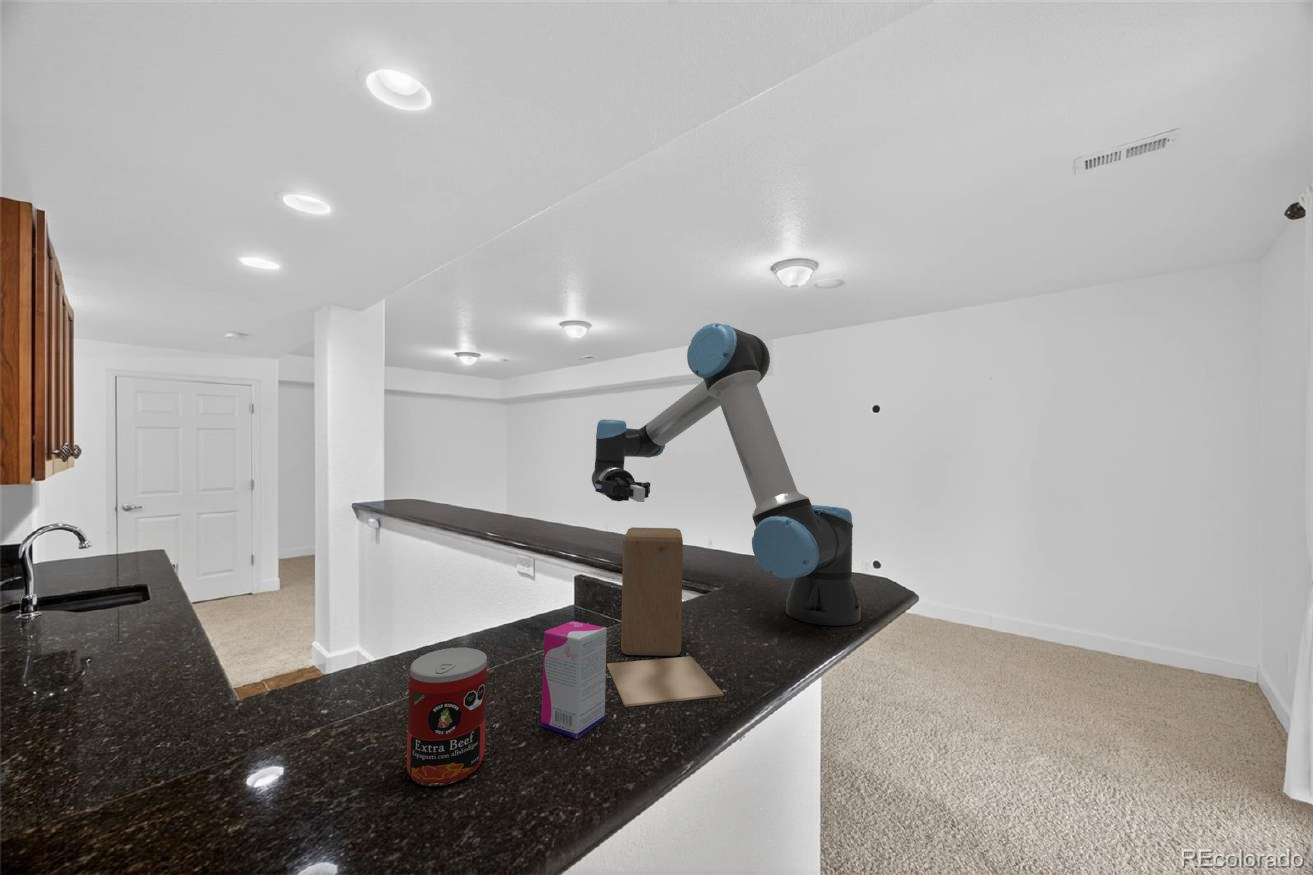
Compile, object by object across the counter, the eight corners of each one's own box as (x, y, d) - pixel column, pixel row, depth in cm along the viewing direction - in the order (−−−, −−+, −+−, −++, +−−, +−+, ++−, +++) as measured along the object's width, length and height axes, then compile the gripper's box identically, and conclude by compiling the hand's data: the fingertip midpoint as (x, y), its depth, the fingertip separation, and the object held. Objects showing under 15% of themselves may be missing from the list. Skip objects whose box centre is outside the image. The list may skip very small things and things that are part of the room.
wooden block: (681, 658, 86) (683, 535, 87) (620, 657, 87) (622, 534, 87) (679, 637, 96) (681, 527, 97) (625, 636, 97) (627, 526, 97)
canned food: (399, 795, 51) (403, 679, 51) (413, 750, 58) (416, 650, 59) (483, 782, 53) (486, 671, 53) (485, 741, 61) (488, 644, 61)
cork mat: (691, 658, 87) (691, 656, 87) (723, 696, 73) (723, 693, 73) (606, 665, 83) (606, 663, 83) (624, 706, 69) (624, 704, 69)
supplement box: (606, 718, 66) (608, 626, 67) (576, 740, 61) (578, 640, 62) (570, 707, 69) (572, 618, 70) (539, 726, 64) (541, 631, 64)
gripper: (641, 500, 128) (671, 514, 106) (588, 498, 125) (607, 513, 102) (643, 469, 128) (673, 477, 106) (590, 467, 125) (609, 474, 102)
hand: (641, 495), depth 104 cm, fingers closed
